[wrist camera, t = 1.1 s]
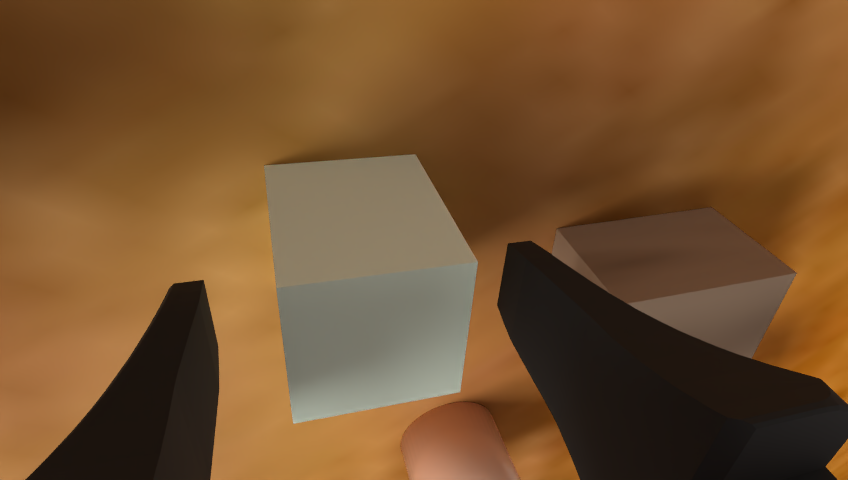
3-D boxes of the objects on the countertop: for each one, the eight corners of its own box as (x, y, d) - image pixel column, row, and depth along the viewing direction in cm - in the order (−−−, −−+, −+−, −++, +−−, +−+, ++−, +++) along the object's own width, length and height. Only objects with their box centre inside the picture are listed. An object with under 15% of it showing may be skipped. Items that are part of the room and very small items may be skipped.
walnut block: (661, 326, 23) (727, 403, 20) (528, 352, 22) (578, 438, 19) (707, 204, 20) (796, 272, 17) (554, 225, 18) (620, 304, 15)
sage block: (409, 268, 18) (459, 392, 14) (278, 285, 17) (293, 423, 13) (415, 153, 15) (477, 262, 11) (264, 164, 14) (276, 287, 10)
